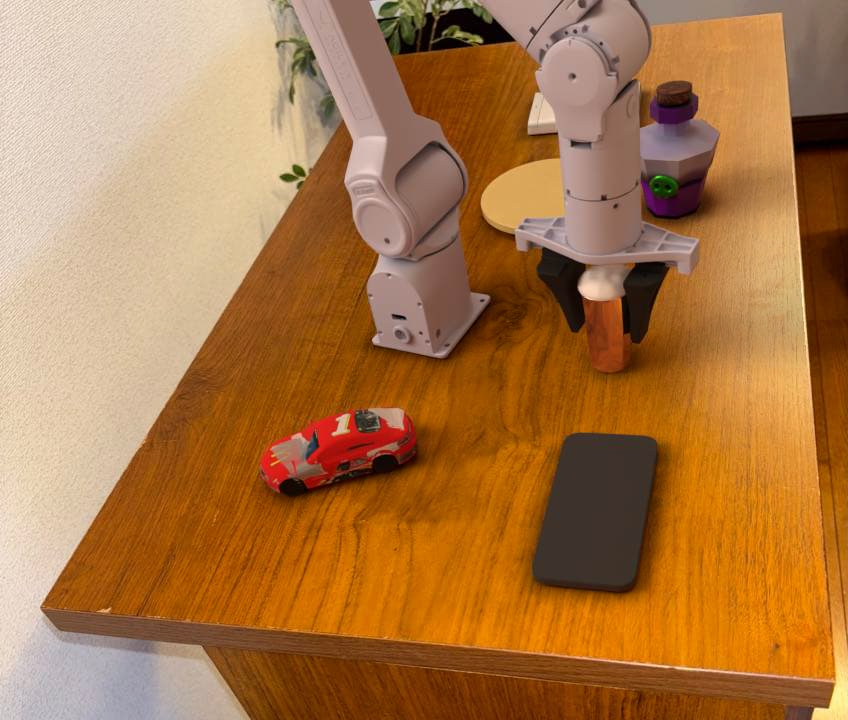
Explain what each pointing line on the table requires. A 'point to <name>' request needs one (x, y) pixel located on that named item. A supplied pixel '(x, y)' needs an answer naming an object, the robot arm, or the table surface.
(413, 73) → the table surface
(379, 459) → the race car
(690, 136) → the potion bottle
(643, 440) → the phone
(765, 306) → the table surface
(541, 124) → the hard drive
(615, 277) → the milkshake
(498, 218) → the plate
